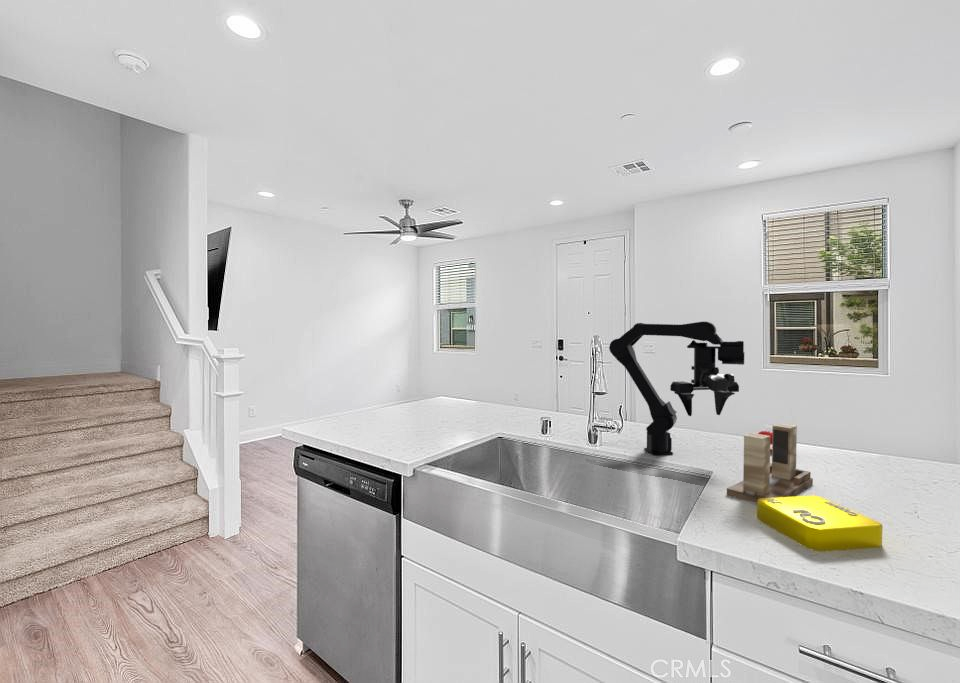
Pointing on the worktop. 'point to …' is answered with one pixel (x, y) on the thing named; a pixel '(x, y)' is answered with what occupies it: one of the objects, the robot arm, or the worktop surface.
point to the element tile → (819, 523)
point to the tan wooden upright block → (784, 451)
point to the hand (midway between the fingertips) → (704, 415)
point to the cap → (767, 435)
